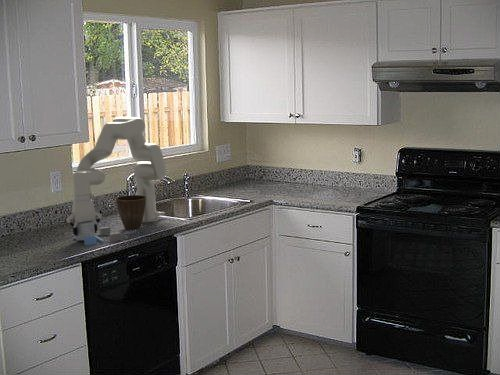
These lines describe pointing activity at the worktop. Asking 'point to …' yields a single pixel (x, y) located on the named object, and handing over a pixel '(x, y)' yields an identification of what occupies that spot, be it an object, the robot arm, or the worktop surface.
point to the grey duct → (112, 234)
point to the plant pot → (131, 210)
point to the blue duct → (92, 240)
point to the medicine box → (85, 230)
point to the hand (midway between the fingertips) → (85, 233)
